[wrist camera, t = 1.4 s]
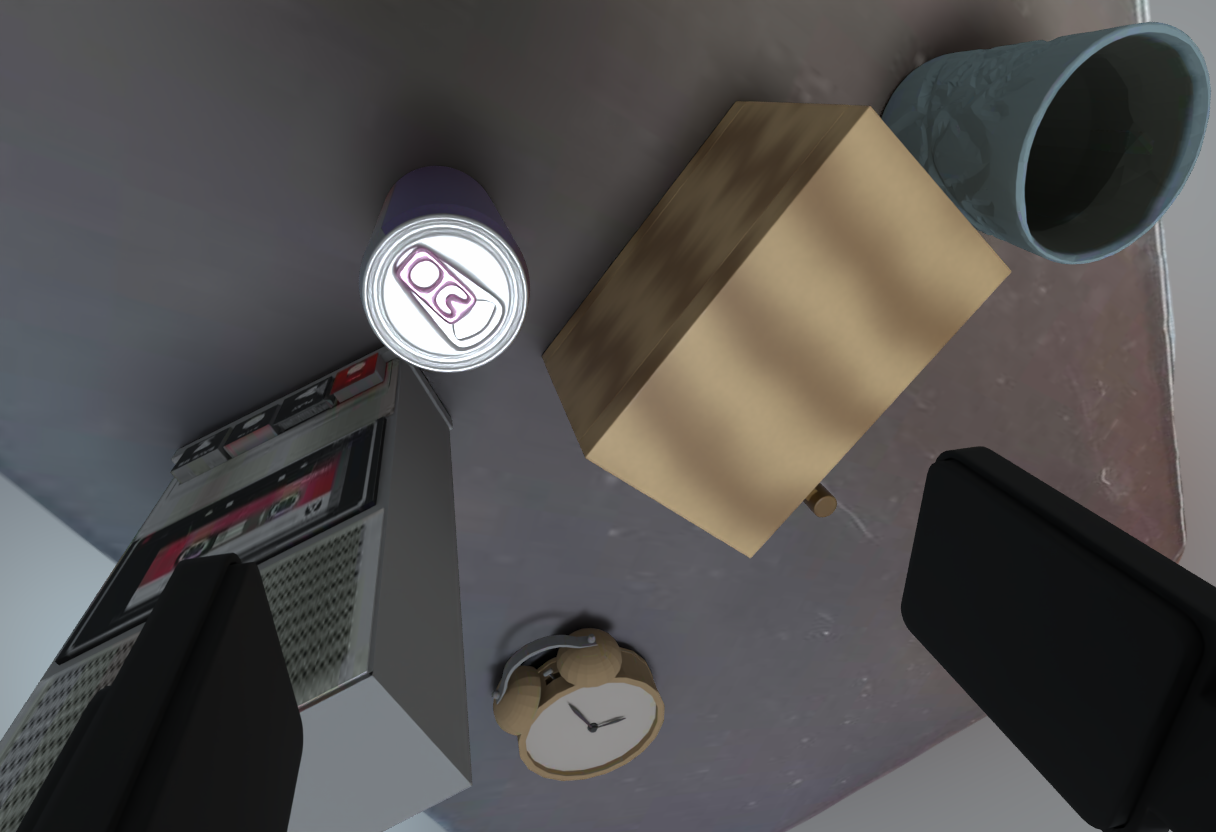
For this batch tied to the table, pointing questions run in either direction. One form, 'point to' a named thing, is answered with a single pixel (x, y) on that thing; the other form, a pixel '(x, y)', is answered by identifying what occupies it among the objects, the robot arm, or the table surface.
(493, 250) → the beverage can
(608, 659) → the alarm clock
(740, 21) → the table surface
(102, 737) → the robot arm
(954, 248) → the curio cabinet
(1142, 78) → the blue-grey pot
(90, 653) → the cassette tape recorder
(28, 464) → the table surface
